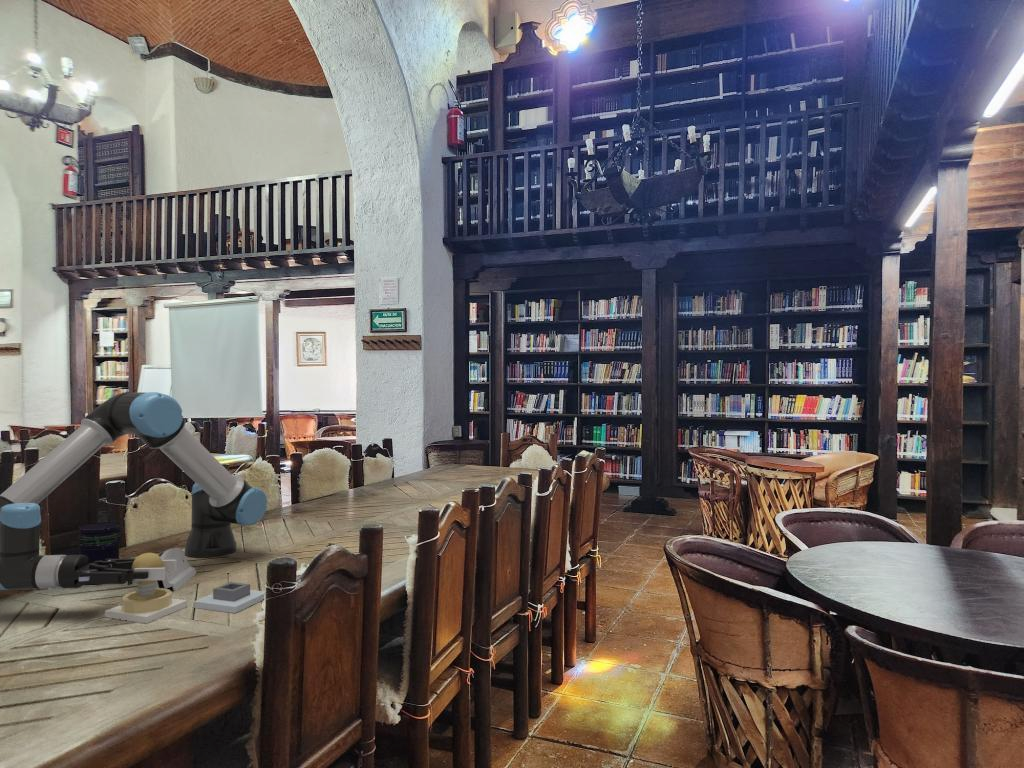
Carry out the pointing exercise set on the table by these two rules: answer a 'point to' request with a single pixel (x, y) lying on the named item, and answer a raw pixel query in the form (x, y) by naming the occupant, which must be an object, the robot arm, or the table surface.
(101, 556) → the storage jar
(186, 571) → the white curved block
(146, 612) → the round socket
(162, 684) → the table surface
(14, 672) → the table surface
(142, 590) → the light bulb
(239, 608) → the square socket
